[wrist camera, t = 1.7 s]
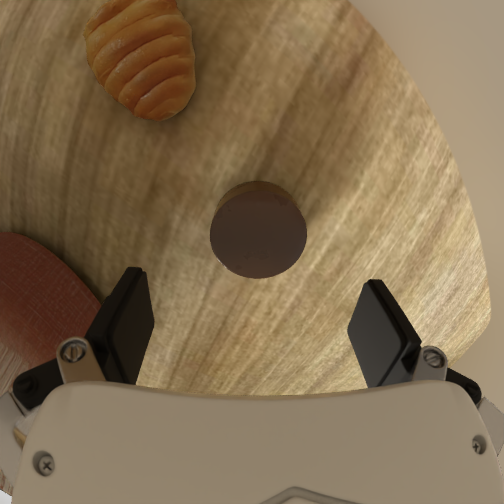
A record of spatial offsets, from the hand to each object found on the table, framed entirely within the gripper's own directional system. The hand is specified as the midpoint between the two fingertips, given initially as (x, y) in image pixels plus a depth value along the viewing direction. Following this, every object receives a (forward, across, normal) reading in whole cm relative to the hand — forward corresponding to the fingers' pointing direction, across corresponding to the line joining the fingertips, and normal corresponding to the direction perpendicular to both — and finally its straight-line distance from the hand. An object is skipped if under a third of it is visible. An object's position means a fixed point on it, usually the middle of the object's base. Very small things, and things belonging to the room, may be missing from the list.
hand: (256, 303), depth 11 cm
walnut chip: (+9, 0, 0) cm, 9 cm away
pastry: (+9, +8, -12) cm, 17 cm away
